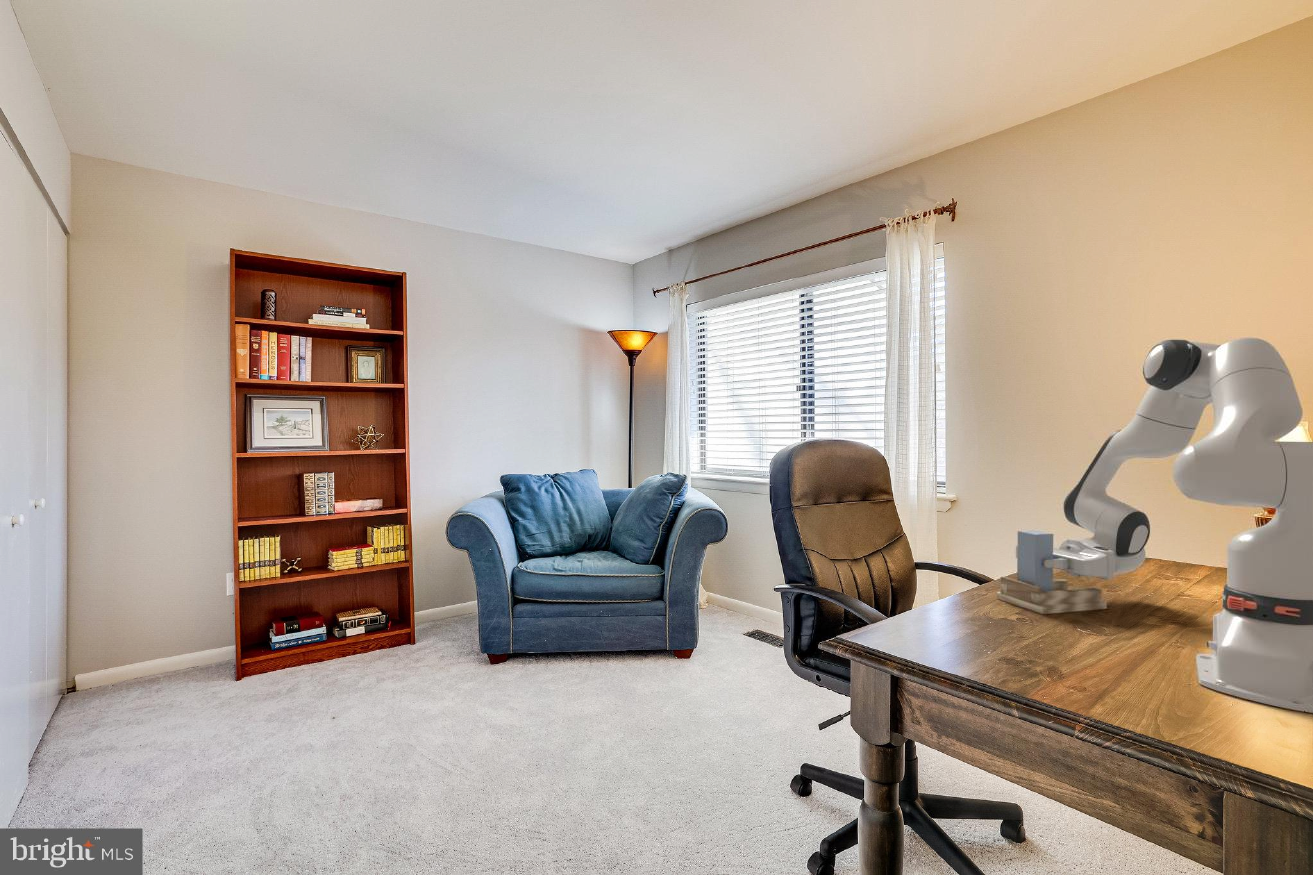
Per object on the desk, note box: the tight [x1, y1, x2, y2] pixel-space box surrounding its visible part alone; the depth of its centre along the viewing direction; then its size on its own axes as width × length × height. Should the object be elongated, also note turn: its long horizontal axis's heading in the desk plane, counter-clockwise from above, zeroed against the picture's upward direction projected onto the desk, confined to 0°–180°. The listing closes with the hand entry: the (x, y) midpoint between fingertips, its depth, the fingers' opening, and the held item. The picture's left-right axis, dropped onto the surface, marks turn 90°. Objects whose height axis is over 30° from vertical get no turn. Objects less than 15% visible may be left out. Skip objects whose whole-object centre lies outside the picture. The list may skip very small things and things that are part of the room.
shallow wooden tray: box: [995, 576, 1108, 615], centre depth 145 cm, size 18×13×6 cm
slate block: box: [1016, 529, 1054, 592], centre depth 144 cm, size 5×5×14 cm
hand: (1031, 560), depth 144 cm, fingers closed on slate block, 5 cm apart
